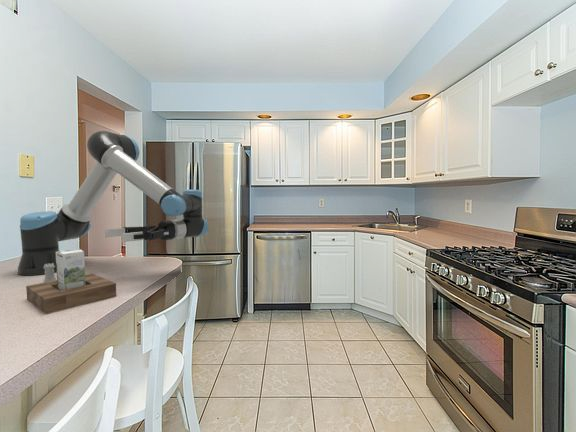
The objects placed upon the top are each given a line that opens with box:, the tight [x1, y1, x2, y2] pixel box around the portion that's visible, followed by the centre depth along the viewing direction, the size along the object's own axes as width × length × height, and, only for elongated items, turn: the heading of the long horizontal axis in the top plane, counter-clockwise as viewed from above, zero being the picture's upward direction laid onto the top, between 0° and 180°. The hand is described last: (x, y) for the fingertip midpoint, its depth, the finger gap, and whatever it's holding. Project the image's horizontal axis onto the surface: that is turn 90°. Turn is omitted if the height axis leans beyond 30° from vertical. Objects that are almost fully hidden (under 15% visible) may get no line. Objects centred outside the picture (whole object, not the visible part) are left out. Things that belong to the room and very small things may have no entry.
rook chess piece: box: [42, 263, 57, 283], centre depth 107 cm, size 4×4×8 cm
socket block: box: [25, 273, 117, 315], centre depth 98 cm, size 18×18×4 cm
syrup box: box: [56, 248, 86, 291], centre depth 97 cm, size 6×6×14 cm
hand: (113, 235), depth 109 cm, fingers open, 13 cm apart
